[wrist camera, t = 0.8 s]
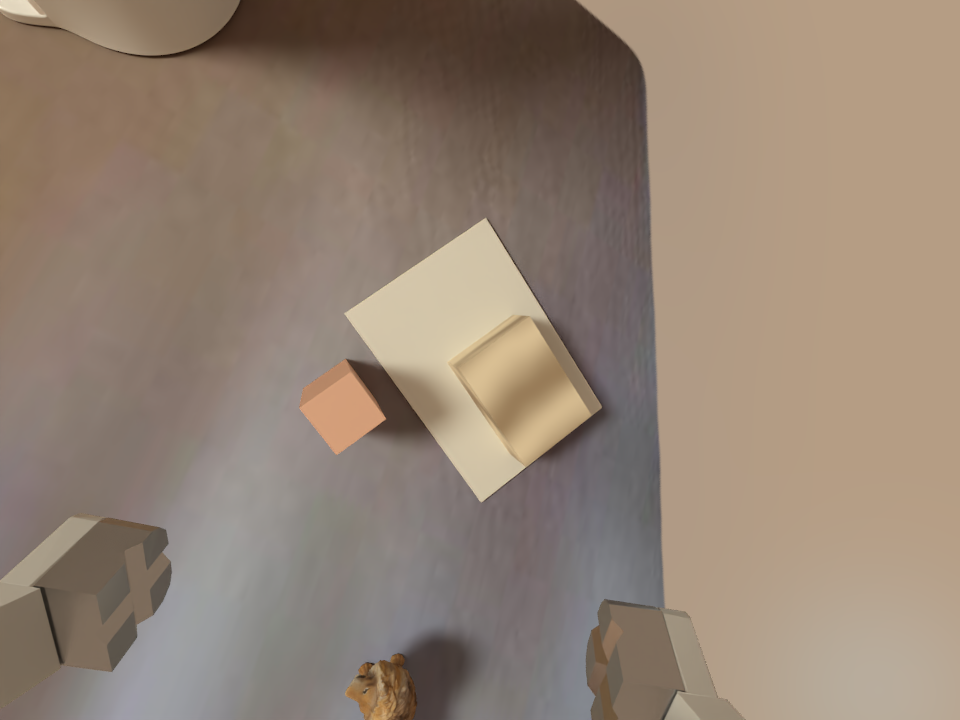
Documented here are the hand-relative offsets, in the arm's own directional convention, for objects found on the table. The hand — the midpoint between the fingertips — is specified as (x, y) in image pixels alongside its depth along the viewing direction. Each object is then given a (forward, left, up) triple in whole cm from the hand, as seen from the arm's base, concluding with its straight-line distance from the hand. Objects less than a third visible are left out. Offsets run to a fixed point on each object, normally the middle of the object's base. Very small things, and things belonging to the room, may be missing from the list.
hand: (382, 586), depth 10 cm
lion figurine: (+25, -14, -35) cm, 45 cm away
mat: (+7, +10, -35) cm, 37 cm away
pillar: (+2, -1, -35) cm, 35 cm away
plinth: (+10, +11, -34) cm, 37 cm away
